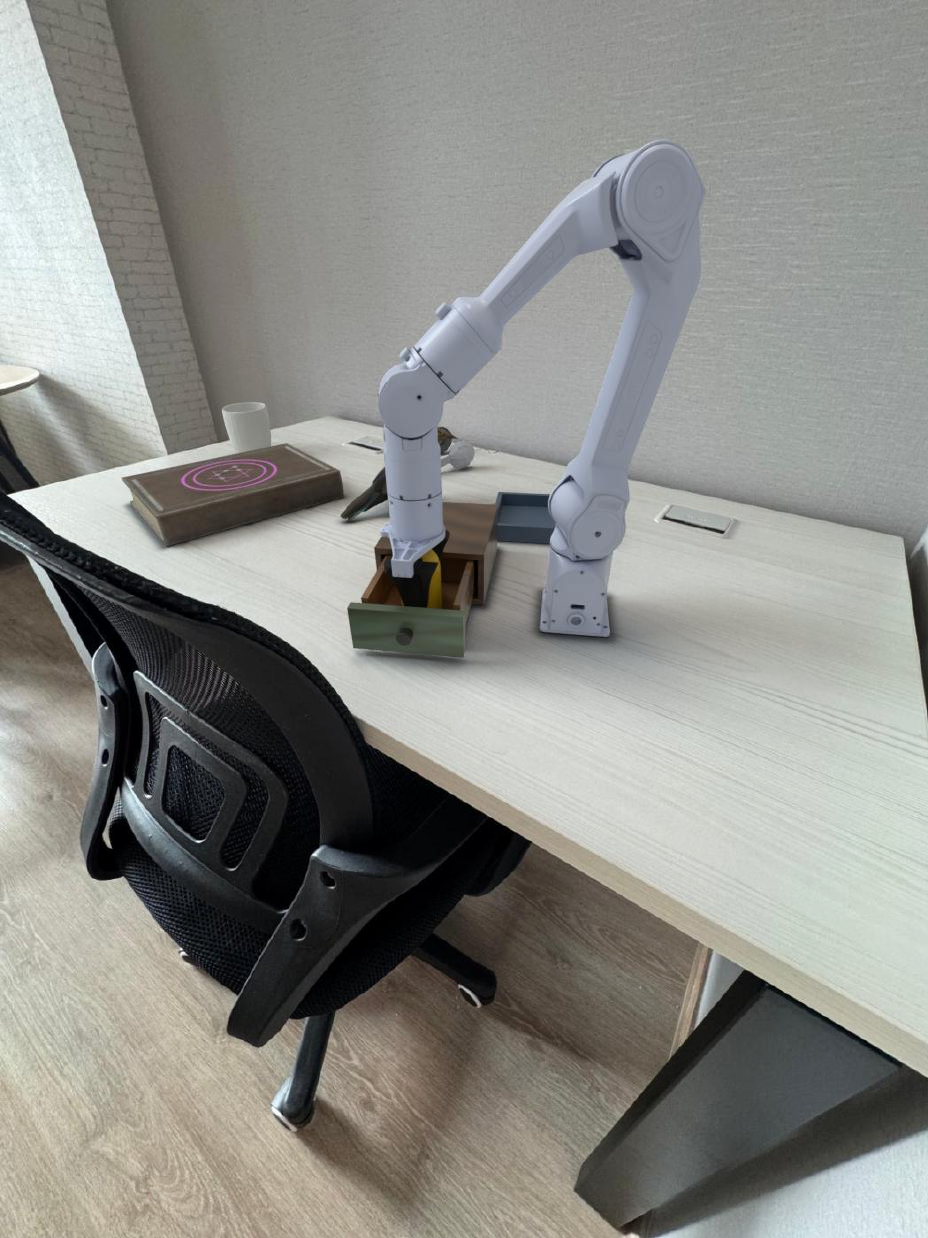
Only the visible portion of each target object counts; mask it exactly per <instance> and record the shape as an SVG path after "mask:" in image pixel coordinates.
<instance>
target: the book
mask: <svg viewBox="0 0 928 1238" xmlns="http://www.w3.org/2000/svg"><path fill="white" fill-rule="evenodd" d="M121 480H122V482H123V484H125V486H126V487H127V488H128V489H129V491H130V494H131V498H132V500H130V501H129V503H130V505H131V506H132V507H133V509H134V510H135V511H136V513H138V514H139V516H140V517H141V518H142V519H143V520H144V522H145V523H146V524H147V525H148V526H149V528H150V529H151V530H152V531H153V532H154V533H155V535H156V536H157V537H158V538H159V539H160V541H161V542H162V543H163V544H164V546H165V547H169V546H174V545H176V544H179V543H184V542H187V541H190V540H194V539H197V538H198V539H199V538H201V537H205V536H208V535H212V534H215V533H216V534H217V533H219V532H223V531H227V530H230V529H235V528H238V527H240V526H241V527H242V526H244V525H249V524H251V523H255V522H259V521H263V520H265V519H269V518H273V517H277V516H281V515H284V514H288V513H292V512H294V511H298V510H302V509H306V508H309V507H313V506H316V505H320V504H323V503H327V502H331V501H334V500H338V499H342V498H344V483H343V477H342V474H341V470H340V469H338V468H337V467H334V466H332V465H330V464H328V463H326V462H325V461H322V460H321V459H319V458H317V457H315V456H313V455H311V454H310V453H307V452H305V451H303V450H301V449H300V448H297V447H296V446H294V445H292V444H290V443H288V442H284V443H279V444H275V445H271V446H270V447H265V448H261V449H256V450H251V451H246V452H242V453H232V454H227V455H224V456H218V457H213V458H209V459H204V460H199V461H195V462H190V463H185V464H180V465H175V466H171V467H166V468H160V469H156V470H152V471H147V472H141V473H136V474H133V475H127V476H123V477H121Z"/></svg>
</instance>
